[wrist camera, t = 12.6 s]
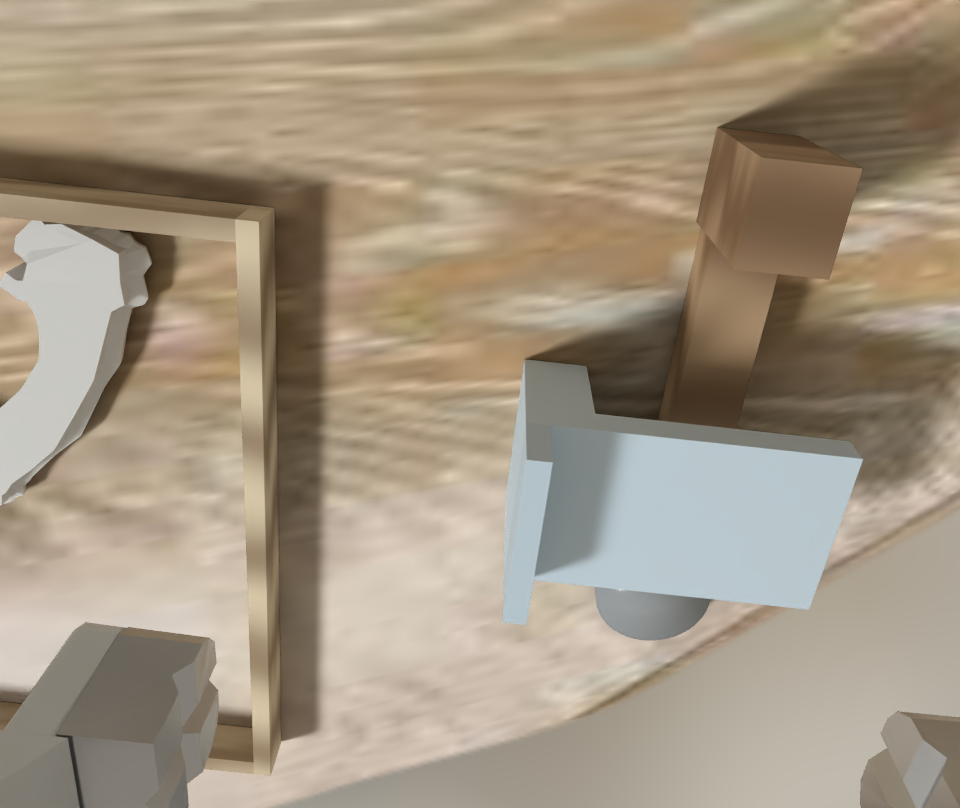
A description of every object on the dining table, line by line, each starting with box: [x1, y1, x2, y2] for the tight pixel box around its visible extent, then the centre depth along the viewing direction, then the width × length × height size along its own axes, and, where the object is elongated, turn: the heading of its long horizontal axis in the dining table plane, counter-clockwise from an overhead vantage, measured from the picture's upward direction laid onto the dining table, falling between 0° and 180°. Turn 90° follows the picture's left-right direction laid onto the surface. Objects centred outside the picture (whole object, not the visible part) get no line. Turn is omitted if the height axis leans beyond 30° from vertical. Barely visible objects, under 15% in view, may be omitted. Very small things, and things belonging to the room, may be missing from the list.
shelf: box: [503, 359, 863, 625], centre depth 37 cm, size 8×14×10 cm, turn 84°
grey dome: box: [595, 587, 710, 640], centre depth 44 cm, size 6×6×2 cm
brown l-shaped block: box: [658, 127, 863, 429], centre depth 35 cm, size 17×4×7 cm, turn 174°
